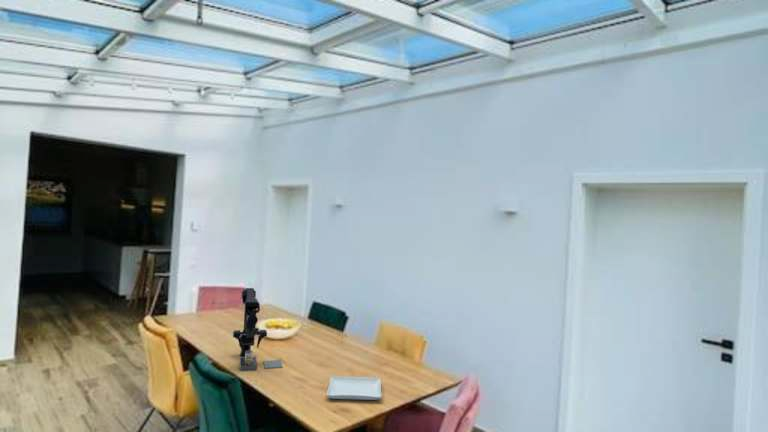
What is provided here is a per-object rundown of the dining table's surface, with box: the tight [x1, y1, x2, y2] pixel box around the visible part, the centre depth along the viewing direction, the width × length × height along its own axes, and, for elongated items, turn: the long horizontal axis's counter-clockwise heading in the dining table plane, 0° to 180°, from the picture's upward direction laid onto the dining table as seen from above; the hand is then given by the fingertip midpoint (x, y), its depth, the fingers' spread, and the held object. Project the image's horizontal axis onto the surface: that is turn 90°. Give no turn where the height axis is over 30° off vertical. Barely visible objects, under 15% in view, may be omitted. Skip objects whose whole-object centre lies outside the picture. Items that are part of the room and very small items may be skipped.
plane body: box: [239, 356, 258, 372], centre depth 268 cm, size 16×9×6 cm, turn 18°
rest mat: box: [263, 359, 284, 370], centre depth 273 cm, size 13×10×1 cm
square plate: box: [326, 376, 383, 401], centre depth 237 cm, size 27×27×4 cm
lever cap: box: [244, 350, 254, 362], centre depth 268 cm, size 6×4×6 cm, turn 18°
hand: (249, 348), depth 268 cm, fingers open, 9 cm apart
